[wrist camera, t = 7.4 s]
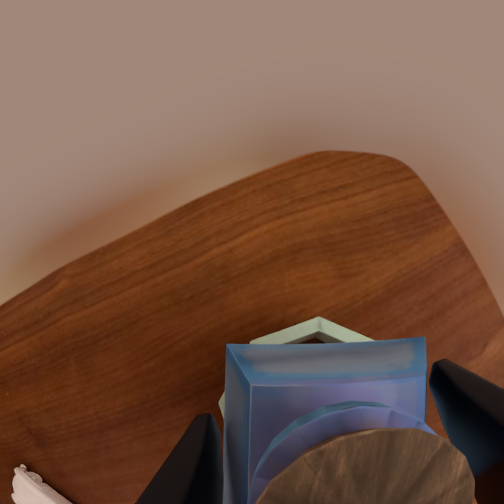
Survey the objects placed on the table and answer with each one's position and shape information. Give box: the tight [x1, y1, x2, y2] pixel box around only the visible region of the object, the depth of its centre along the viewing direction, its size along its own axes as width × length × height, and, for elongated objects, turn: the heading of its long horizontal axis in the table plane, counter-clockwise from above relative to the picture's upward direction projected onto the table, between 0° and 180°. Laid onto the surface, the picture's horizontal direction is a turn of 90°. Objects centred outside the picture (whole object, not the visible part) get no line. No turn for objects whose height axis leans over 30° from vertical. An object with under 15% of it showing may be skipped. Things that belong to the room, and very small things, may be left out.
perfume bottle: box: [223, 337, 475, 504], centre depth 8 cm, size 6×6×12 cm
